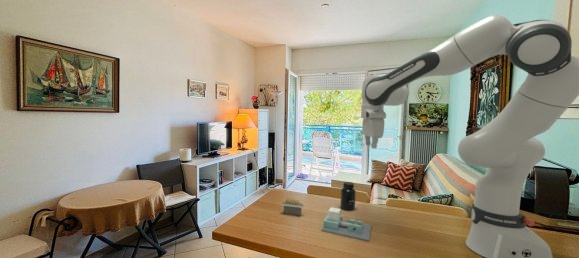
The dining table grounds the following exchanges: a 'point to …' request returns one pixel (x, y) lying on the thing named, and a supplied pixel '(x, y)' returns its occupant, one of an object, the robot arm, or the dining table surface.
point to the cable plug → (337, 217)
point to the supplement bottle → (348, 196)
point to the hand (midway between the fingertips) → (370, 146)
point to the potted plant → (292, 207)
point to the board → (348, 229)
